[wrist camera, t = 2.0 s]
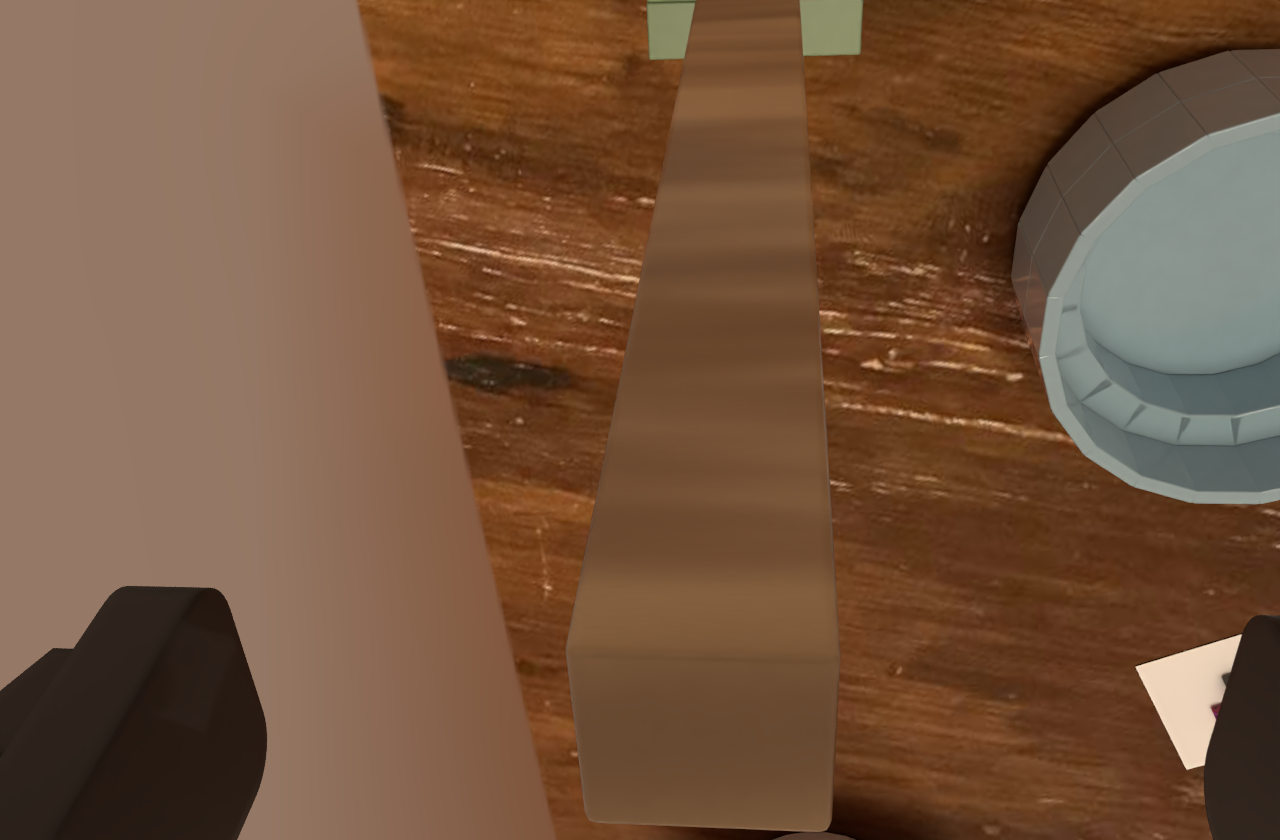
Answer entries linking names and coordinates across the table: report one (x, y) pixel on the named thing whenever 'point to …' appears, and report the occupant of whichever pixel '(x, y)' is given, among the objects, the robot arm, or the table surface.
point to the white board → (1190, 694)
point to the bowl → (814, 836)
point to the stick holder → (824, 19)
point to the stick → (717, 472)
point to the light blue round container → (1165, 282)
